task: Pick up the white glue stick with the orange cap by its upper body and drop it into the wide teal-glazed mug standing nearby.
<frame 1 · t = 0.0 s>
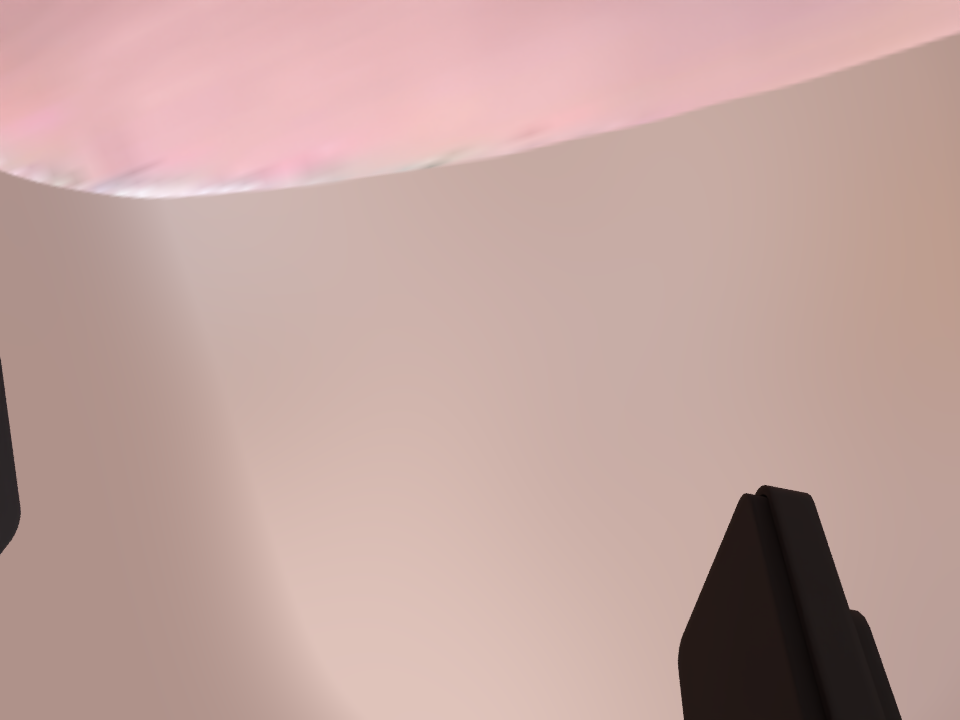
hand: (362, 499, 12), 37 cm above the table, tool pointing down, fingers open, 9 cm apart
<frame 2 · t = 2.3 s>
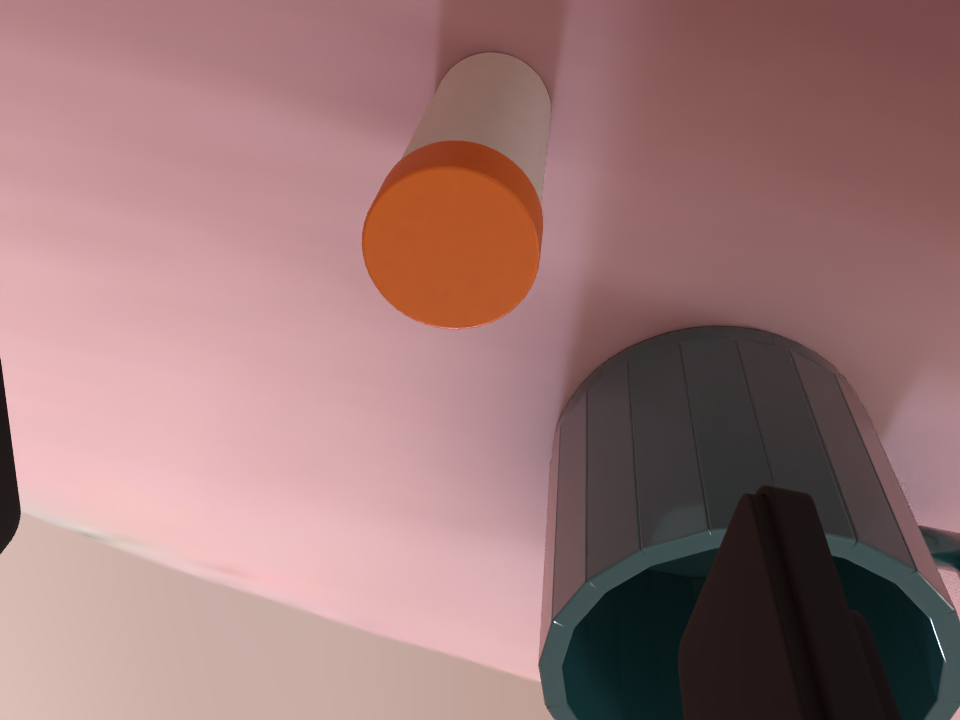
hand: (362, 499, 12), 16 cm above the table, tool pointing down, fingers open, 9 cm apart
mug: (707, 460, 30), on the table
glue stick: (492, 112, 25), on the table
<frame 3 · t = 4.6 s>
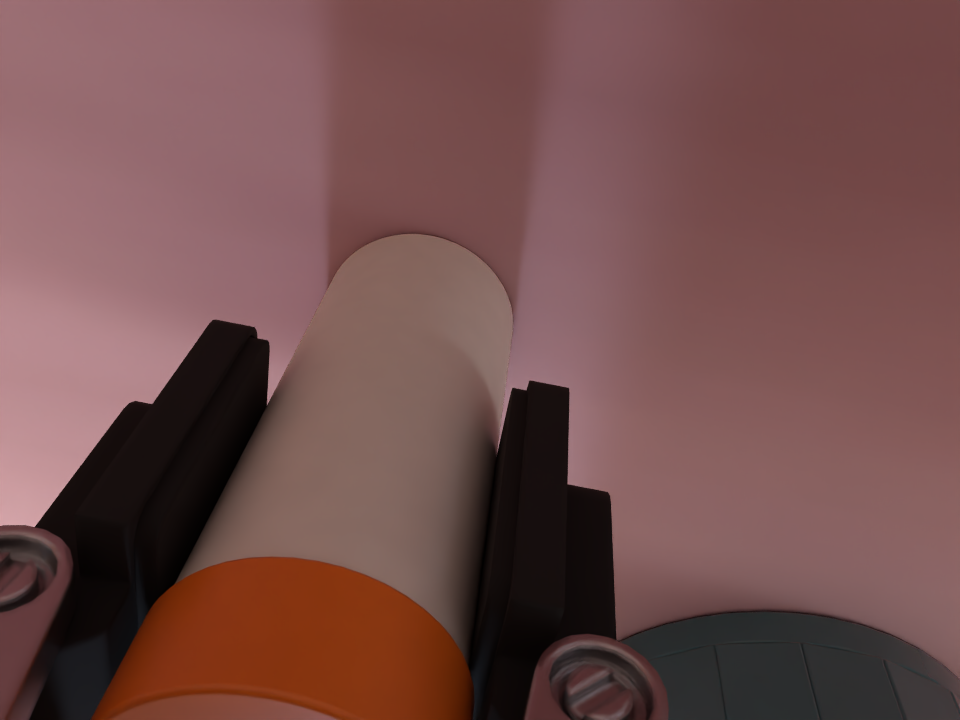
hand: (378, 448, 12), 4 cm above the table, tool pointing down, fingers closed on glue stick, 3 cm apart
glue stick: (419, 319, 16), on the table, touching gripper
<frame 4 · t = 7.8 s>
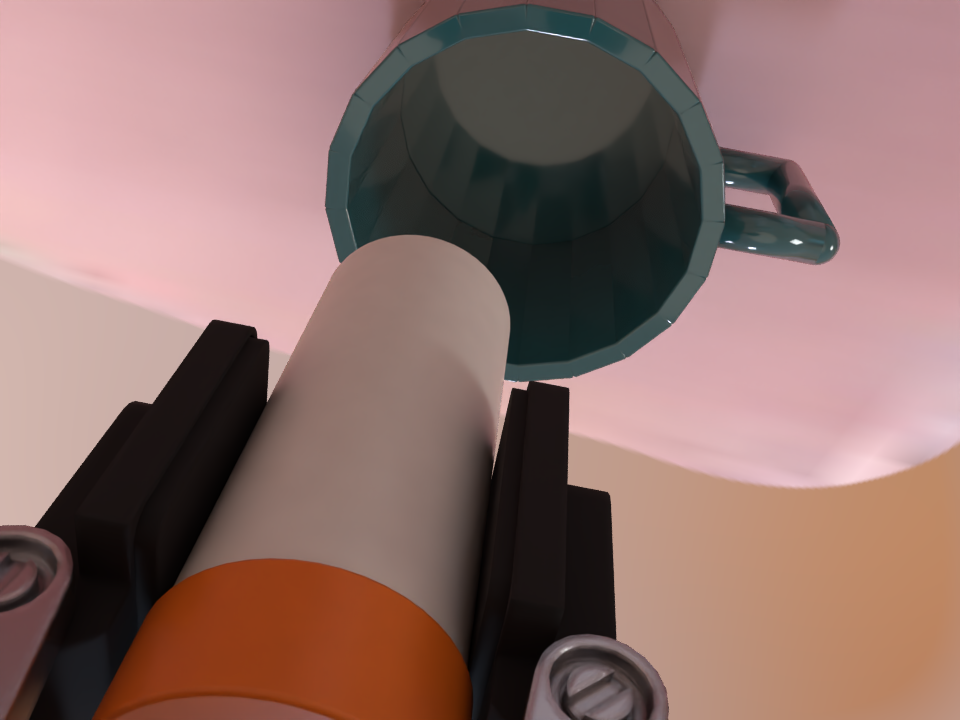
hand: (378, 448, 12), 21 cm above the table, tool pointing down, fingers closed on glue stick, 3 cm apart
mug: (537, 111, 31), on the table
glue stick: (416, 320, 16), point 18 cm above the table, touching gripper
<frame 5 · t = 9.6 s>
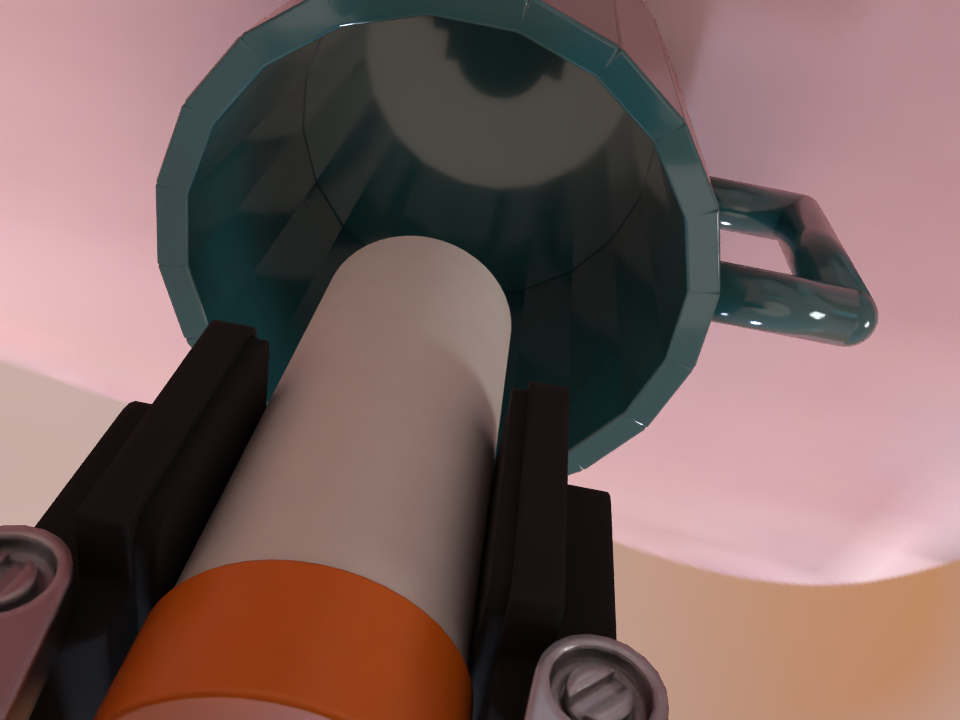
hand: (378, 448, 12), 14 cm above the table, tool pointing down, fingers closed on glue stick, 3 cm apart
mug: (479, 126, 24), on the table
glue stick: (417, 321, 16), point 10 cm above the table, touching gripper
when the fingers open (10 cm above the table, at t = 11.0 s): glue stick drops 6 cm, resting on mug.
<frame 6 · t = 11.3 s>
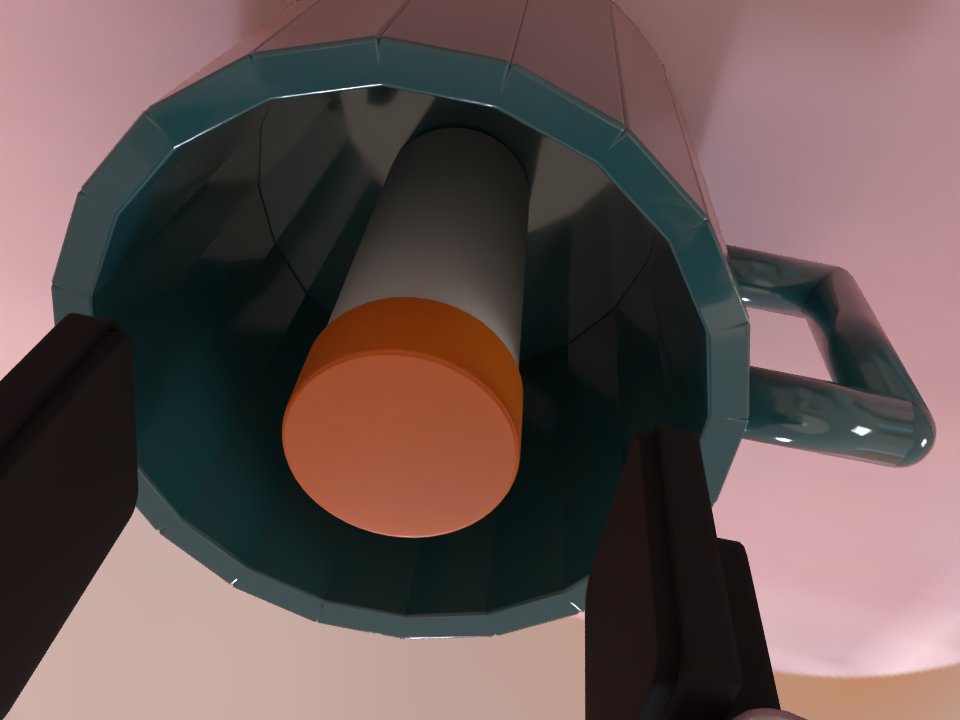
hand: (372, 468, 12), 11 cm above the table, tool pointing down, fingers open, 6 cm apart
mug: (462, 182, 21), on the table, touching glue stick
glue stick: (457, 196, 20), point 1 cm above the table, touching mug
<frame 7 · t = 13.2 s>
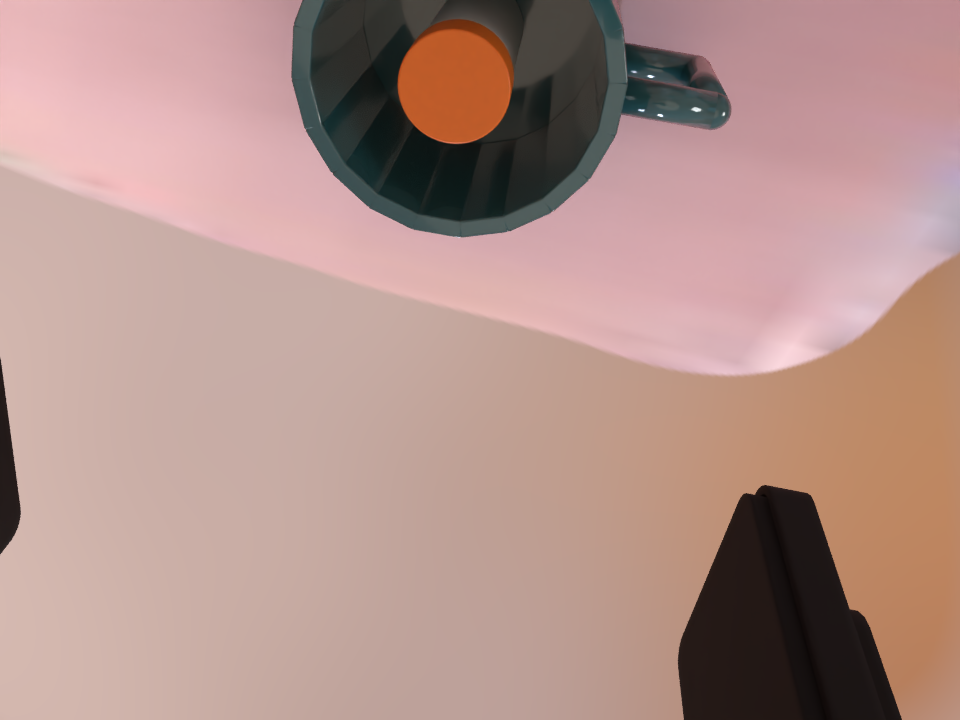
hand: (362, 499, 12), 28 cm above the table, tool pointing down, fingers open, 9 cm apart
mug: (483, 22, 36), on the table, touching glue stick
glue stick: (481, 26, 35), point 1 cm above the table, touching mug
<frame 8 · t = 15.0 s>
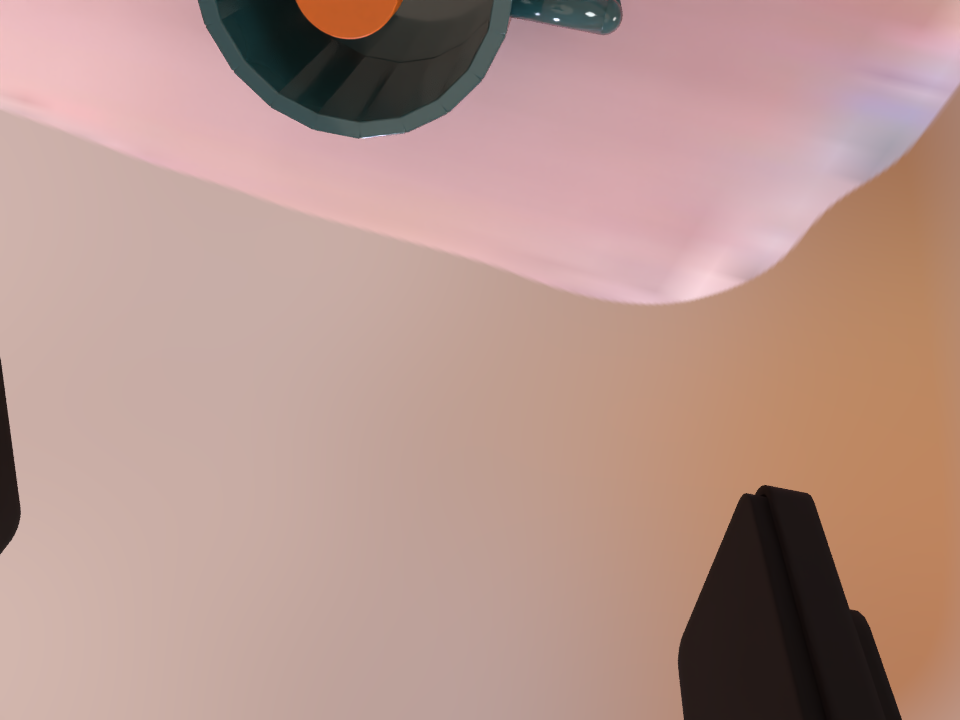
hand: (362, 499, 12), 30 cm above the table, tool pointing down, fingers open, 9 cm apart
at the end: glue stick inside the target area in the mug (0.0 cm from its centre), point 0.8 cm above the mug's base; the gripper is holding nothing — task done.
